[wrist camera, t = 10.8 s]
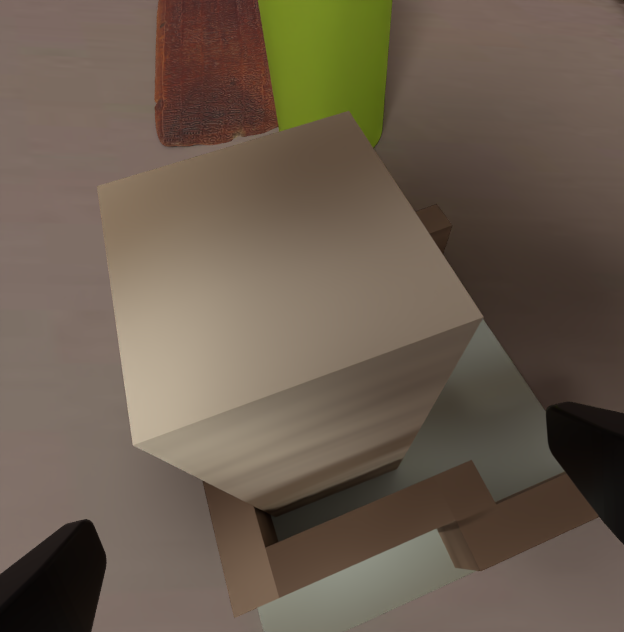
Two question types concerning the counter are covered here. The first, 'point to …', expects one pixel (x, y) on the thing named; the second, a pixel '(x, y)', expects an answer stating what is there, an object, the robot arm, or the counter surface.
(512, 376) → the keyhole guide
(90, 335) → the counter surface
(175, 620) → the counter surface
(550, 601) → the counter surface
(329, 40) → the soap dispenser
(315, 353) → the birch post
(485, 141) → the counter surface
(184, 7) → the wooden tablet
